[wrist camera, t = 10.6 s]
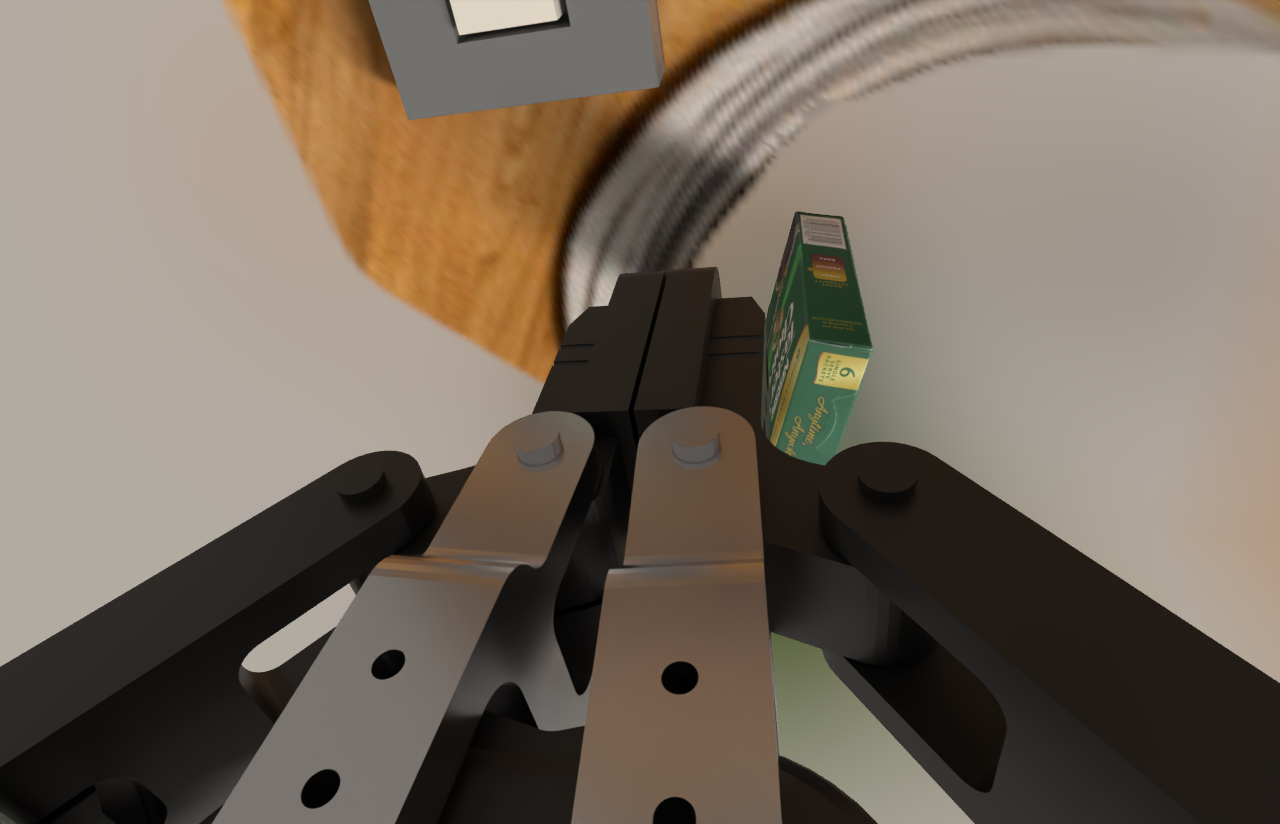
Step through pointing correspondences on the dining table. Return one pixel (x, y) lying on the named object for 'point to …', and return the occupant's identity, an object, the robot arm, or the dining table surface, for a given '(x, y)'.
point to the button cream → (503, 13)
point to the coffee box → (815, 340)
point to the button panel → (518, 55)
